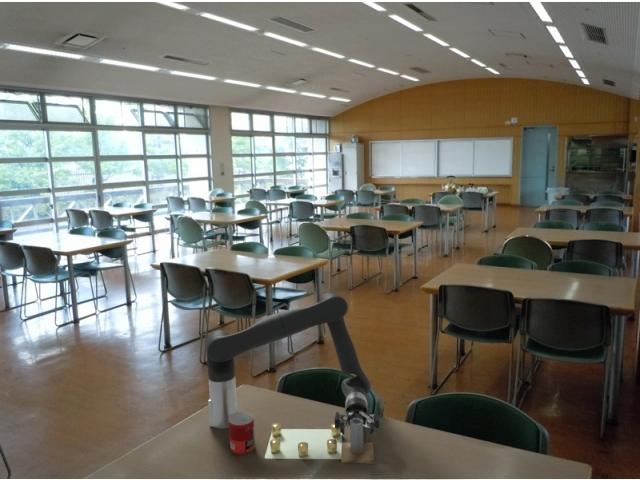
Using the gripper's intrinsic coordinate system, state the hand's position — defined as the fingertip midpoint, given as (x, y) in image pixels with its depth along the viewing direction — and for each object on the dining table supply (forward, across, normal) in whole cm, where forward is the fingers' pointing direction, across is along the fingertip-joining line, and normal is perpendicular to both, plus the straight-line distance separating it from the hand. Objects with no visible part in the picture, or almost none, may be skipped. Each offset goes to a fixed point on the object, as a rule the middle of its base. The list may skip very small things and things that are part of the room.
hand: (357, 431), depth 162 cm
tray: (-2, 0, +9) cm, 9 cm away
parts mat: (-8, -17, +9) cm, 21 cm away
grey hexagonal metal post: (-2, 0, +8) cm, 8 cm away
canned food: (-5, -37, +9) cm, 38 cm away
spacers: (-7, -17, +8) cm, 20 cm away
